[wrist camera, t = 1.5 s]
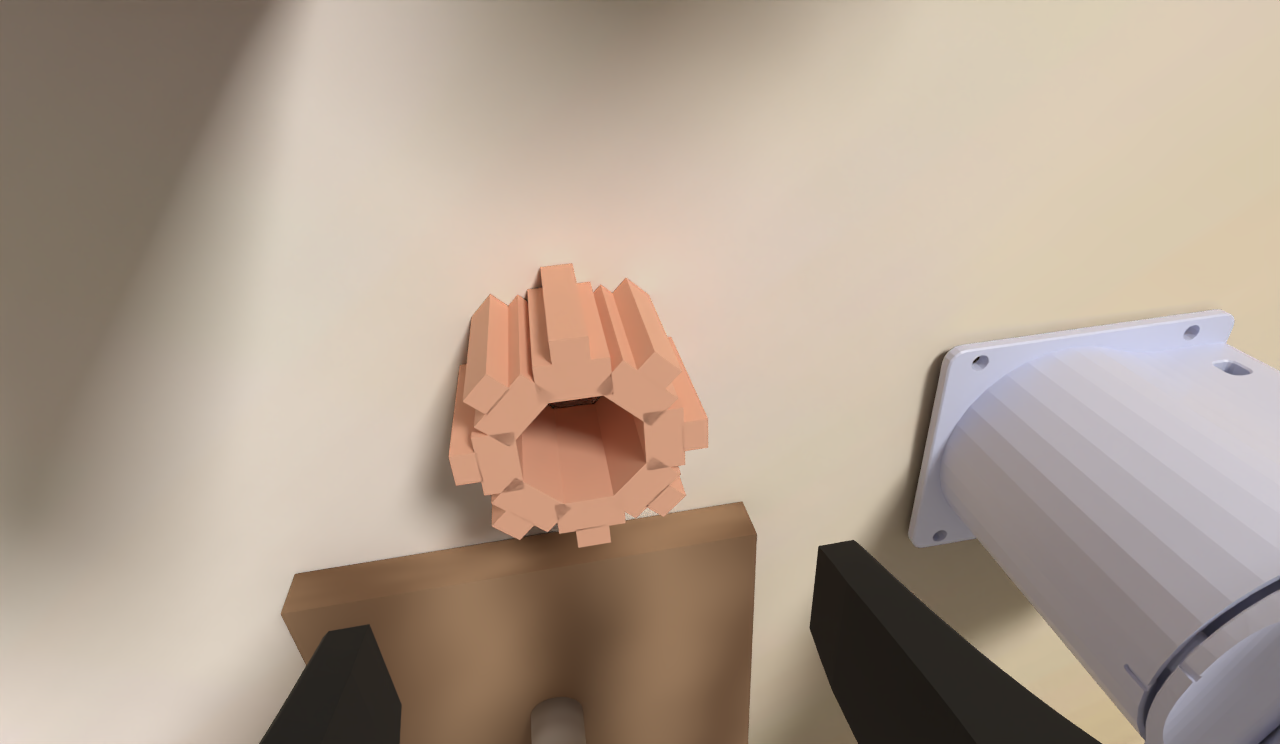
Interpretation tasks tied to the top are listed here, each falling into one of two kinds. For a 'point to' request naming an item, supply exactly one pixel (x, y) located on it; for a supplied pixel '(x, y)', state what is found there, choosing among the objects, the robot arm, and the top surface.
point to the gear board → (558, 633)
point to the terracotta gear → (573, 409)
